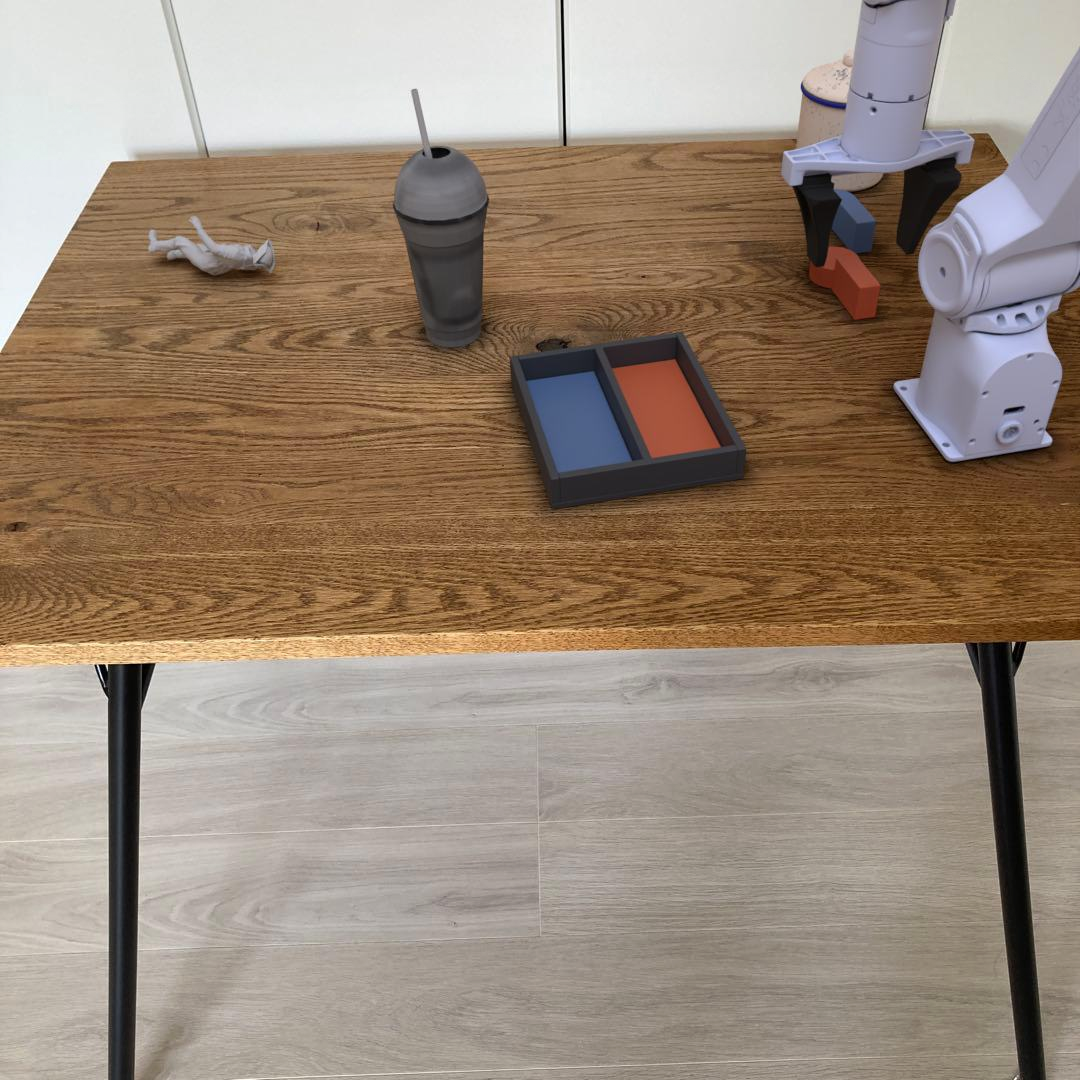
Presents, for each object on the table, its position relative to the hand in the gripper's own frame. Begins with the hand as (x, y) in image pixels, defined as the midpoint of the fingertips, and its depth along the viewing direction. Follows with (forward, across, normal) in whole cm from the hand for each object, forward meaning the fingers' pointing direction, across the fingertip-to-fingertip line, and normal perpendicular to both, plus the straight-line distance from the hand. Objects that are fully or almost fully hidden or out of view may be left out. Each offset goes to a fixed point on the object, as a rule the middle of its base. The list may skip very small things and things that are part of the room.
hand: (860, 254), depth 95 cm
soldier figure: (+5, +52, -19) cm, 56 cm away
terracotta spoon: (+4, 0, -2) cm, 5 cm away
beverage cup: (+5, +33, -4) cm, 34 cm away
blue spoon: (+4, -4, -12) cm, 13 cm away
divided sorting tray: (+4, +23, +12) cm, 26 cm away
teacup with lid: (+5, -8, -24) cm, 26 cm away
